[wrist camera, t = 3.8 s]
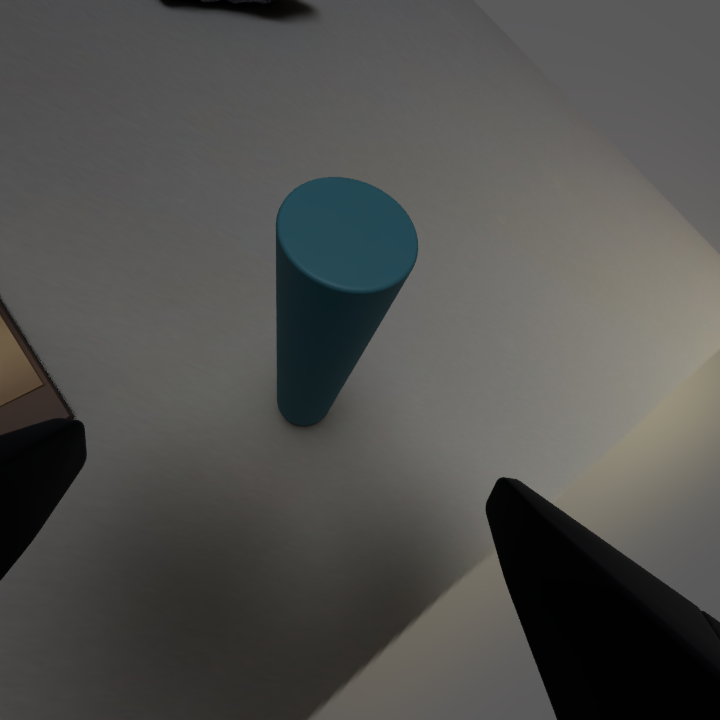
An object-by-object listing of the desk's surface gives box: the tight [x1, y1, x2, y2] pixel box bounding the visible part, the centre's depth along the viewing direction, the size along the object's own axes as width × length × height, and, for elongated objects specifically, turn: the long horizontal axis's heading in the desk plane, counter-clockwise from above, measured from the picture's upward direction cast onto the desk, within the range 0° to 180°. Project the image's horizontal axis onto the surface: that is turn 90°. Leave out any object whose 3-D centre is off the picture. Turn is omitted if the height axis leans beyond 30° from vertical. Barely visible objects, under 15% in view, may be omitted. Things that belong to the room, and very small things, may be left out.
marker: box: [276, 177, 418, 426], centre depth 13 cm, size 3×3×14 cm
